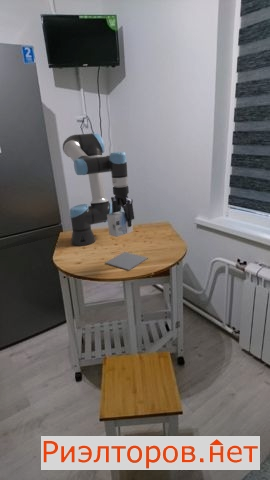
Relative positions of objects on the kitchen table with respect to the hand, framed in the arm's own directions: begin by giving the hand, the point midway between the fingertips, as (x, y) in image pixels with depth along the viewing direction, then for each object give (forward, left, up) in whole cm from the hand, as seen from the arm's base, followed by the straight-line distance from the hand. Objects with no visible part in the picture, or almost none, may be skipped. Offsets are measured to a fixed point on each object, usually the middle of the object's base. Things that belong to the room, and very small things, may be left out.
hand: (124, 231), depth 143 cm
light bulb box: (-2, -7, +5) cm, 9 cm away
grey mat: (0, 0, -17) cm, 17 cm away
